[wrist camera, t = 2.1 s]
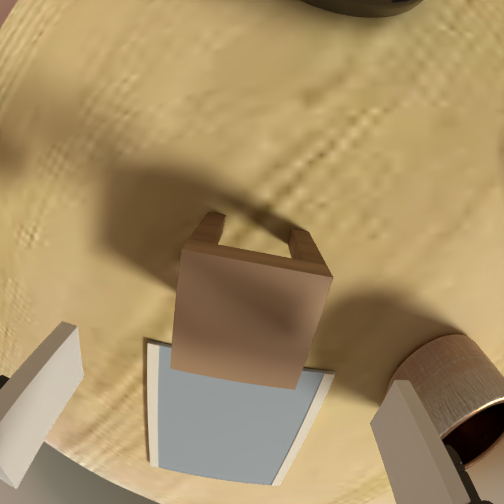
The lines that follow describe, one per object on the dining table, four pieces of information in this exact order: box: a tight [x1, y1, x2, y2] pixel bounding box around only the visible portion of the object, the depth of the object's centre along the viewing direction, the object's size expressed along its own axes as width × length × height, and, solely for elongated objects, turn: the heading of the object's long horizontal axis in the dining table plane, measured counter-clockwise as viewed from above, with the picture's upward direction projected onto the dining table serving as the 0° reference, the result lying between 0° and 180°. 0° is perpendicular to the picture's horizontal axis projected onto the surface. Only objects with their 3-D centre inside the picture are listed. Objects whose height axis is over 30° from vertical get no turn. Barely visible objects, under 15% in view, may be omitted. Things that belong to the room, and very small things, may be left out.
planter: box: [386, 334, 504, 469], centre depth 22 cm, size 11×11×10 cm
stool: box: [170, 212, 333, 390], centre depth 19 cm, size 7×7×8 cm
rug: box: [147, 340, 335, 486], centre depth 29 cm, size 20×16×1 cm
